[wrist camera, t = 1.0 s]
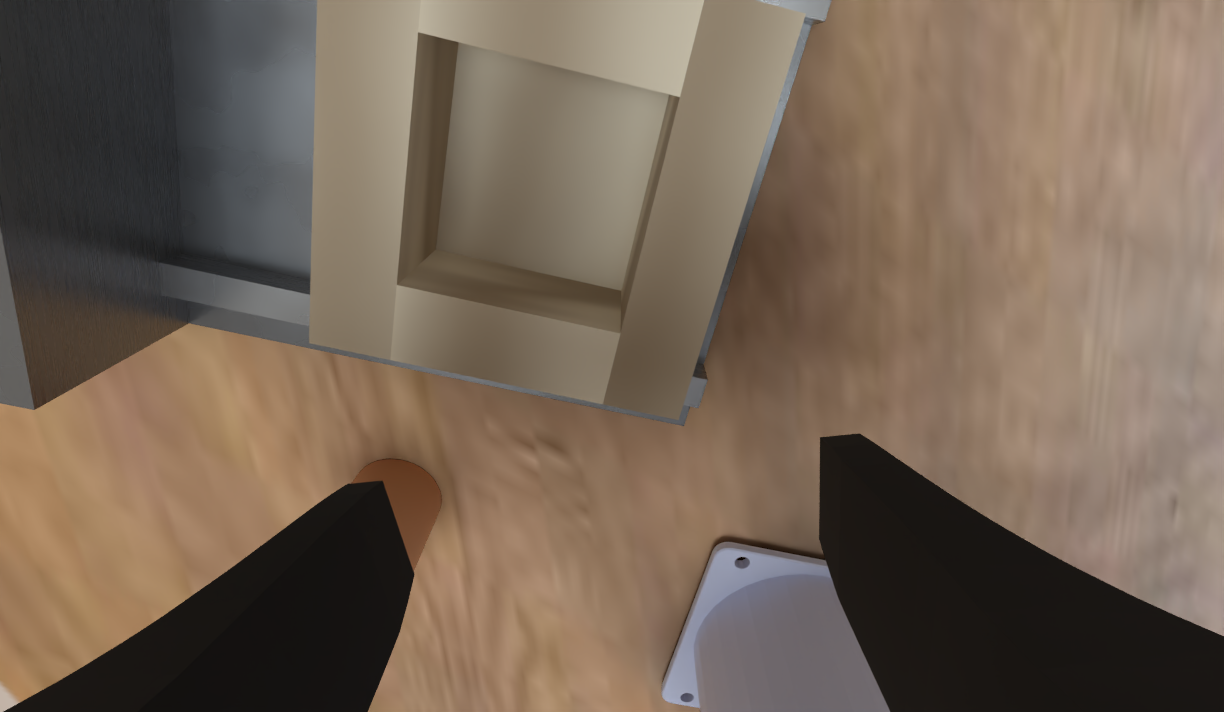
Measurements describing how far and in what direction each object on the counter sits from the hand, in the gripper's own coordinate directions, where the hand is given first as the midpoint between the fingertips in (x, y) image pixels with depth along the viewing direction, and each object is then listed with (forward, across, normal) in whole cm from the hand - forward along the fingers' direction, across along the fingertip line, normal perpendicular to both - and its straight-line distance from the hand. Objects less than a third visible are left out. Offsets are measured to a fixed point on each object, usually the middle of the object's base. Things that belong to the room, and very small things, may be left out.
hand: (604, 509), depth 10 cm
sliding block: (+8, +1, -5) cm, 9 cm away
